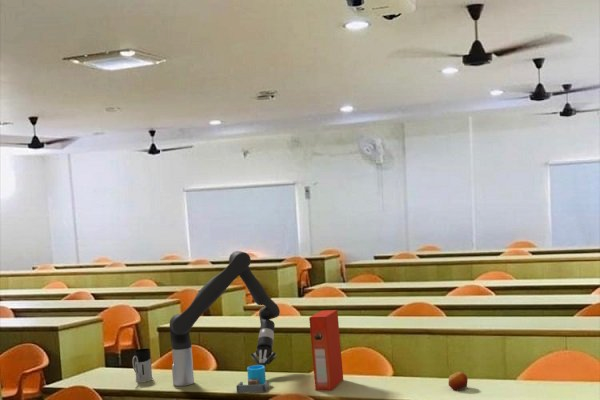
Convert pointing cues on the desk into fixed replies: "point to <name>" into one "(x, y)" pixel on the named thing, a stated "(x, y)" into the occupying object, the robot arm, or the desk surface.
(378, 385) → the desk surface
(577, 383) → the desk surface
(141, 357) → the grey handled cylinder
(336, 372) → the file binder
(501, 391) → the desk surface
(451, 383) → the fruit
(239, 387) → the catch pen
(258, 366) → the mug
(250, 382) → the tile
